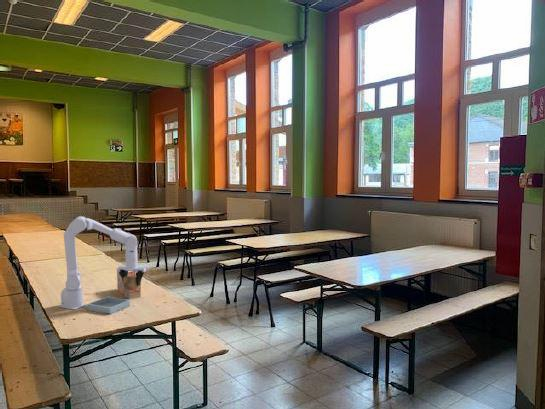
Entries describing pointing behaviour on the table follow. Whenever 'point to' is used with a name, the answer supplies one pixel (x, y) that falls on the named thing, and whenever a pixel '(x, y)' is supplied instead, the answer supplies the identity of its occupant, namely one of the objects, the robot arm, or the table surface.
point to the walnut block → (131, 282)
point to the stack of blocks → (127, 293)
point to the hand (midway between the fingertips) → (132, 285)
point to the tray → (108, 305)
